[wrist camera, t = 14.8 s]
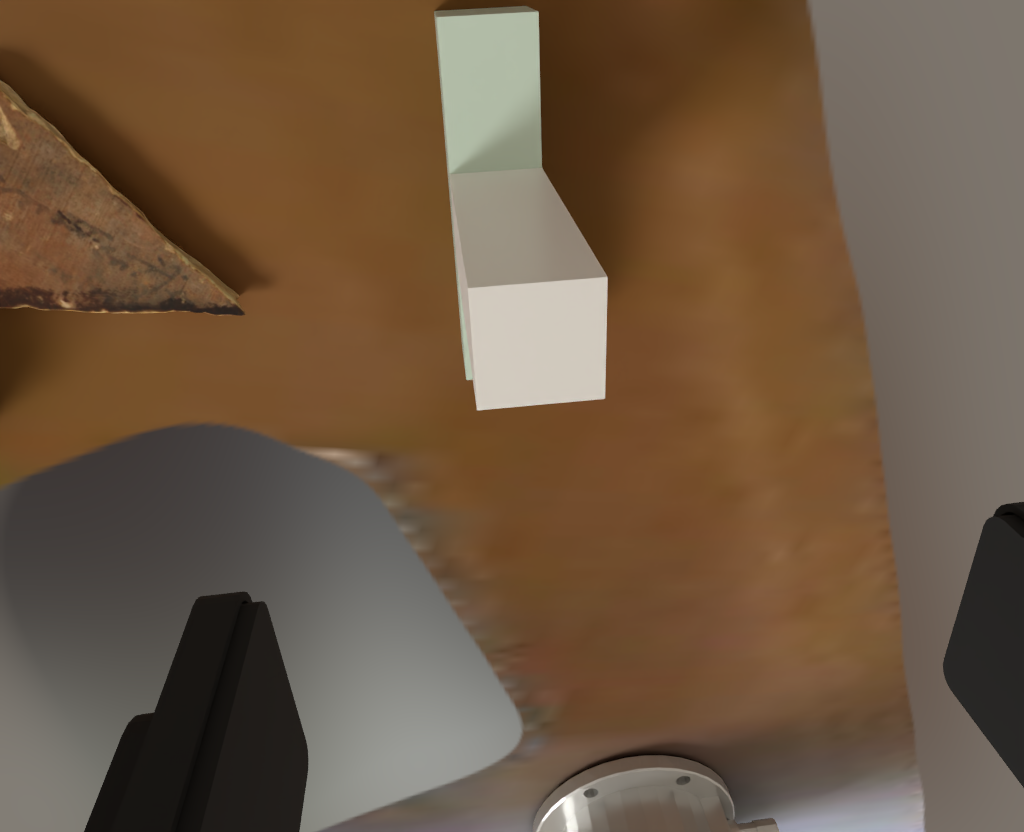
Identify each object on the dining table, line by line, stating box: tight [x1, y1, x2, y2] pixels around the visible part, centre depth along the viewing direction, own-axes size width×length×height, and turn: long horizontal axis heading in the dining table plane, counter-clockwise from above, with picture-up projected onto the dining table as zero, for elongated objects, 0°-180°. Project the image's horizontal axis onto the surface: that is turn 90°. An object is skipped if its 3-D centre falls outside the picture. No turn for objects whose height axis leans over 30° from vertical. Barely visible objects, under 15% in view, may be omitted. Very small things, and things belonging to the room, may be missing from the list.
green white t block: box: [434, 6, 608, 410], centre depth 23 cm, size 12×3×13 cm, turn 2°
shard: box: [0, 80, 245, 316], centre depth 28 cm, size 11×8×2 cm
